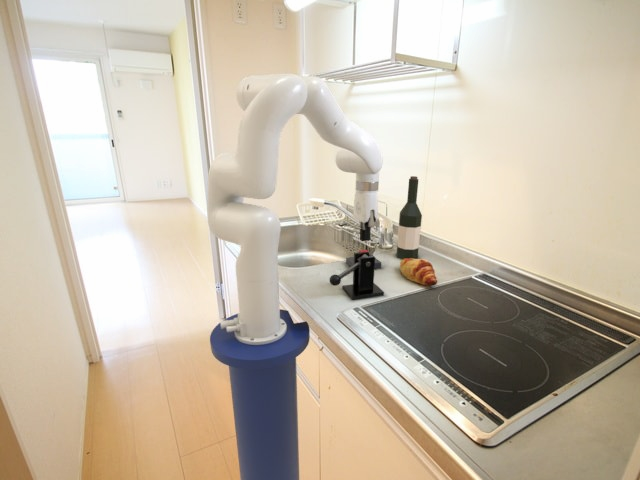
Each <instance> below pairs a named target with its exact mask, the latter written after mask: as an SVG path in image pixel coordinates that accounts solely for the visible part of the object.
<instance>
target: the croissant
mask: <svg viewBox="0 0 640 480" xmlns="http://www.w3.org/2000/svg"><path fill="white" fill-rule="evenodd" d="M399 270H400V272H401V276H402V277H404V278H406V279H407V280H409V281H412V282H414V283H418V284H420V285H423V286H427V287H432V286H436V285H437V284H438V279H437V276H436V273H435V269H434V267H433V264H432V263H431V262H430V261H429V260H427V259H423V258H422V259H421V258H417V259H413V258H408V259H407V258H406V259H403V260H402V259H401V260H400V264H399Z"/></svg>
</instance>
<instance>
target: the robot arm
mask: <svg viewBox="0 0 640 480" xmlns="http://www.w3.org/2000/svg"><path fill="white" fill-rule="evenodd" d="M235 95H236V100H237V103H238V105H239V107H240V108H241V109H242V111H243V114H242V116H241V119H240V122H239V125H238V135H237V144H236V147H237V148H236V151H225V152H222V153H220V154H218V155H217V156H216V157H215V158H214V159H213V160H212V162H211V164H210V166H209V170H208V175H207V224H208V227H209V230H210V232H211V234H212V235H213V236H214V237H216V238H217V239H219V240H221V241H225V242H227V243H232V244H235V245H238V246H240V249H239V252H238V253H239V254H238V256H237V258H236V261H235V277H236V287H237V288H236V289H237V299H238V313H237V314H238V317H237V318H234V320H225V319H224V320H225V321H223V320H220V322H219V323H220V324H221V329H225V328H226V329H227V332H232V331H234V332H235V337H236V338H237V340H239V341H240V342H242V343H245V344H249V345H264V344H269V343H272V342H275V341H277V340H279V339H280V338H282V337H283V336H284V335H285V333H286V331H287V325H286V323H285V321H284V320H282V319H281V318H280V309H281V307H280V306H281V305H280V286H279V260H278V257H279V245H280V238H281V233H282V227H281V226H282V225H281V221H280V219H279V217H278V215H277V214H276V213H275V212H274V211H273V210H271V209H269V208H267V207H265V206H261V205H257V204H252V203H246V202H244V198H246V199H253V200H266V199H269V198H270V197H272V196H273V195H274V193H275V191H276V189H277V188H276V187H277V181H278V167H279V166H278V165H279V149H280V142H281V134H282V132H283V129H284V128H285V126H286V124H287V123H288V122H289V121H290V120H291V119H292V118H293V117H294V116H295V115H303V116H304V117H305V118H306V119H307V120H308V122H309V124H310V125H311V126H312V127H313V128H314V130H315V132H316V133H317V134H318V135H319V137H320V138H321V140H323V141H324V142H326V143H328V144H331V145H332V146H336V147H338V148H340V149H339V150H338V151H337V152H336V155H335V158H334V159H335V160H334V161H335V164H336V167H337V168H338V170H340V171H342V172H345V173H352V174H355V189H354V192H355V193H354V201H353V213H352V215H353V216H352V217H353V218H355V219H356V220H357V221H358V222H359V240H360V241H361V242H368V241H369V242H370V241H371V230H372V228H374V227H375V223H376V222H377V221H378V212H379V211H378V208H379V204H378V203H379V202H378V192H379V187H380V185H379V184H380V182H379V181H380V171H381V169H382V167H383V162H384V159H383V153H382V151H381V148H380V146H379V145H378V143H377V141H376V139H375V138H374V137H373V136H372V134H371V133H369V132H368V131H367V130H365V129H363V128H362V127H361V126H359V125H358V124H357V123H355V122H354V121H352V120H350V119H349V118H348V117H347V116H346V115H345V113H344V111H343V109H342V108H341V106H340V105H339V103H338V101H337V100H336V98H335V96H334V95H333V93H332V91H331V90H330V88H329V86H328V85H327V83H326V81H324V80H323V79H322V78H320V77H318V76H315V75H305V76H304V75H303V76H300V75H297V74H295V73H290V72H289V73H287V72H286V73H269V74H256V75H248V76H245V77H244V78H243V79H241V80H240V81H239V83H238V85H237V87H236V93H235Z"/></svg>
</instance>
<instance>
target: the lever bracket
mask: <svg viewBox="0 0 640 480" xmlns="http://www.w3.org/2000/svg"><path fill="white" fill-rule="evenodd" d="M369 253H370V251H369V252H359V251H358V252H354V253H353V257H354V264H356V263H357V262H358V260H357V259H358V258H359V257H360V258H359V267H358V268H357V269H355V270H354V271H352V284H351V283H350V284H345V285H341V287H342V288H341V289H342V291H343V292H344V293H345V294H346V295H347V297H348V298H349V299H350V300H351V301H357V300H365V299H370V298H377V297H384V296H385V291H384V290H382V289H381V288H380V286H378V285H377V284H376V283H374V282H375V269H374V266H375V258H376V256H375V255H373V256H369ZM364 254H366V255H367V256H368V257H361V256H362V255H364Z"/></svg>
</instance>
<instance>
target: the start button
mask: <svg viewBox="0 0 640 480" xmlns="http://www.w3.org/2000/svg"><path fill="white" fill-rule="evenodd" d="M358 252H369V253H370V251H369V250H367V249H360V250H359V251H358Z"/></svg>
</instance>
